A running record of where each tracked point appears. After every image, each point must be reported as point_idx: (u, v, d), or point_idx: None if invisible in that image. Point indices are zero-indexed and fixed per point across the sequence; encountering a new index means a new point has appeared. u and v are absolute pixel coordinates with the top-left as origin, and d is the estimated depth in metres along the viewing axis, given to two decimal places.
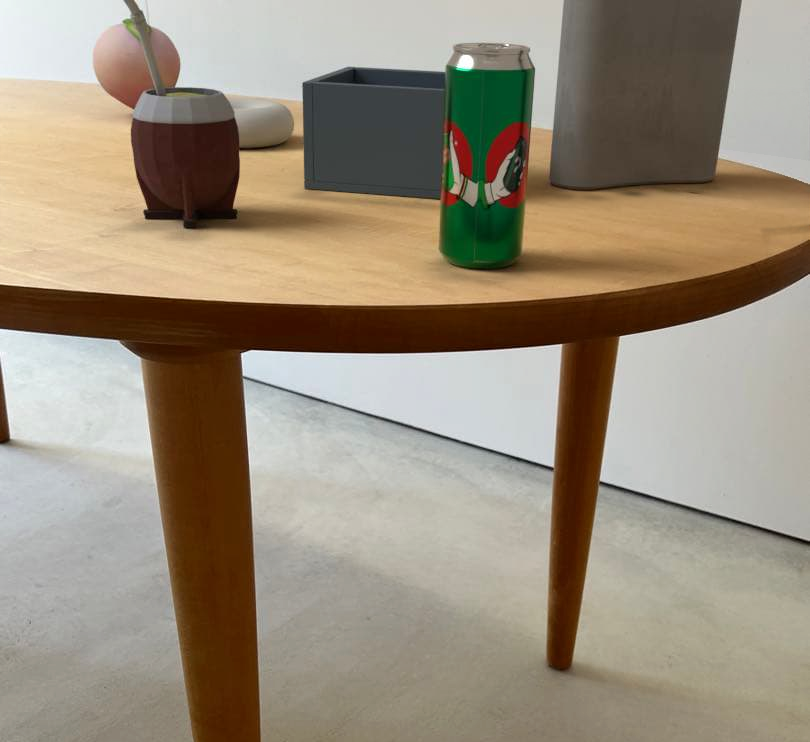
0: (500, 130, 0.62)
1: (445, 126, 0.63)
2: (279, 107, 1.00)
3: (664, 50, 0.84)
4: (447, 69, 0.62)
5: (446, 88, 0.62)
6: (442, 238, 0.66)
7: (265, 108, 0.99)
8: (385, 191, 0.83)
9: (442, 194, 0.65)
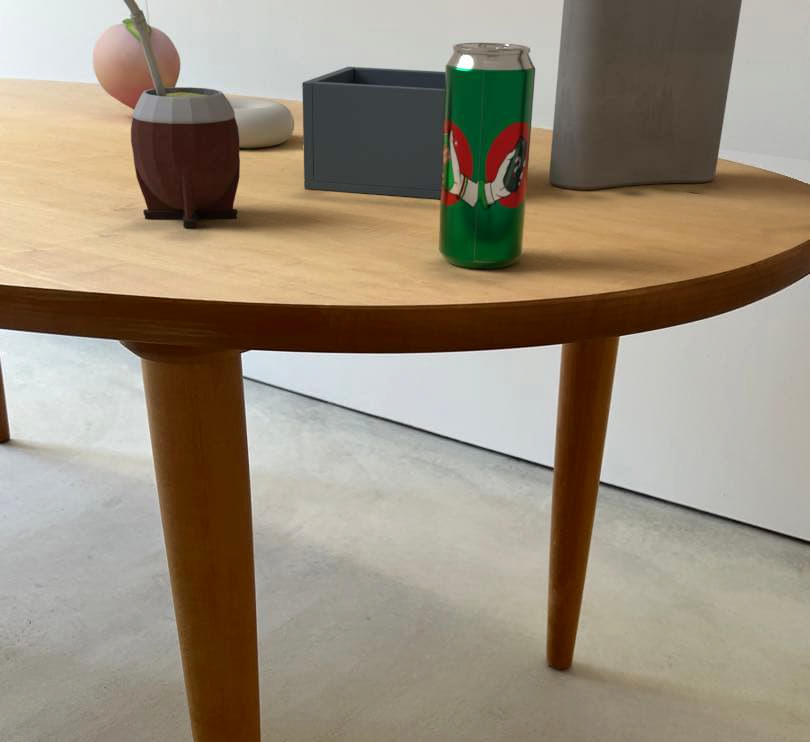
0: (500, 130, 0.62)
1: (445, 126, 0.63)
2: (279, 107, 1.00)
3: (664, 50, 0.84)
4: (447, 69, 0.62)
5: (446, 88, 0.62)
6: (442, 238, 0.66)
7: (265, 108, 0.99)
8: (385, 191, 0.83)
9: (442, 194, 0.65)
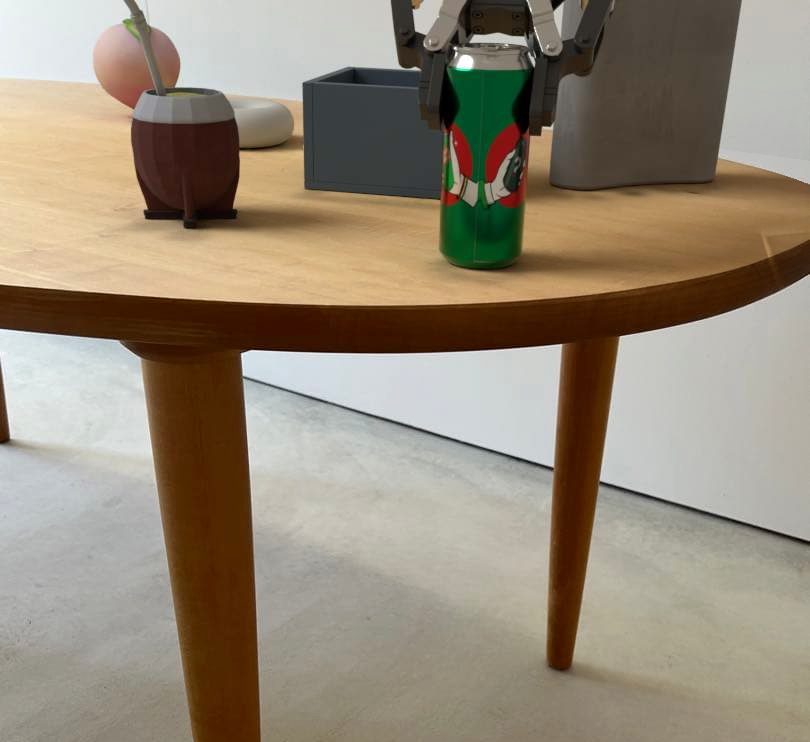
0: (500, 130, 0.62)
1: (445, 126, 0.63)
2: (279, 107, 1.00)
3: (664, 50, 0.84)
4: (447, 69, 0.62)
5: (445, 88, 0.62)
6: (442, 238, 0.66)
7: (265, 108, 0.99)
8: (385, 191, 0.83)
9: (442, 194, 0.65)
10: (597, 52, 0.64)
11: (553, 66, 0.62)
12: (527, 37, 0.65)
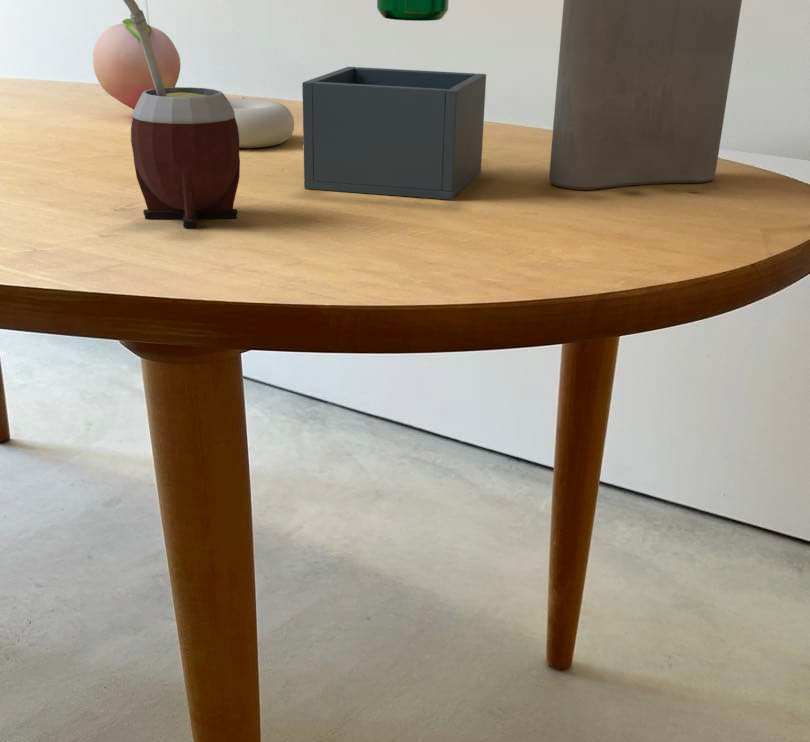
0: None
1: None
2: (279, 107, 1.00)
3: (664, 50, 0.84)
4: None
5: None
6: None
7: (265, 108, 0.99)
8: (385, 191, 0.83)
9: None
10: None
11: None
12: None
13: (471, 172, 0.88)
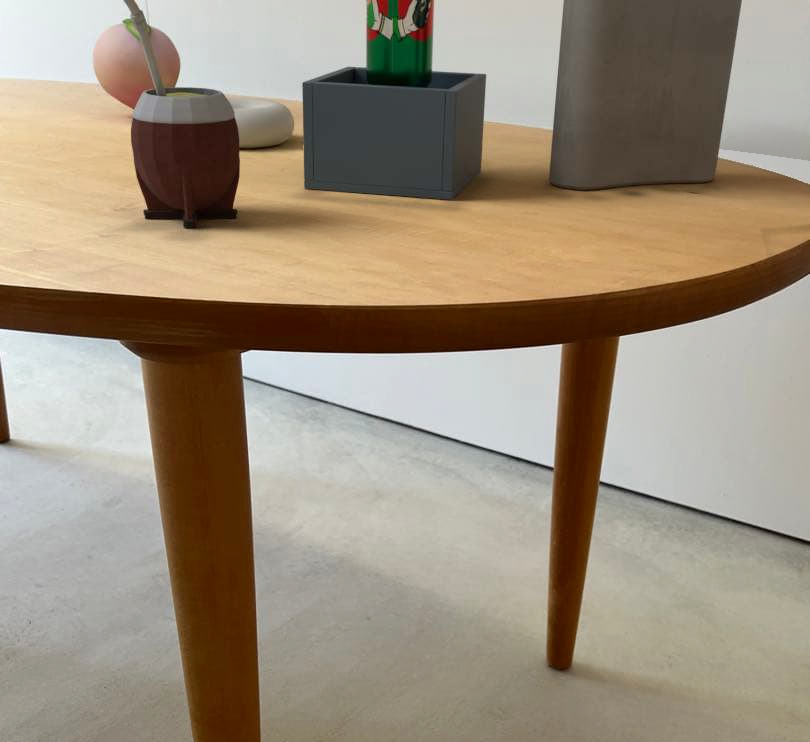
0: None
1: None
2: (279, 107, 1.00)
3: (664, 50, 0.84)
4: None
5: None
6: (367, 69, 0.84)
7: (265, 108, 0.99)
8: (385, 191, 0.83)
9: (367, 32, 0.83)
10: None
11: None
12: None
13: (471, 172, 0.88)
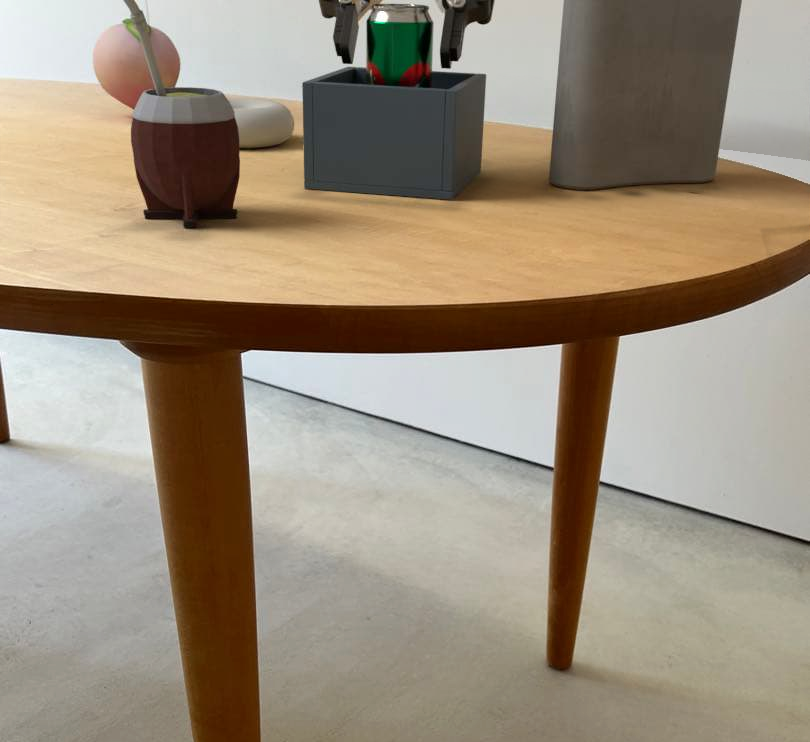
0: (406, 68, 0.83)
1: (367, 66, 0.84)
2: (279, 107, 1.00)
3: (664, 50, 0.84)
4: (367, 22, 0.83)
5: (366, 37, 0.83)
6: None
7: (265, 108, 0.99)
8: (385, 191, 0.83)
9: None
10: (492, 4, 0.84)
11: (459, 15, 0.83)
12: None
13: (471, 172, 0.88)
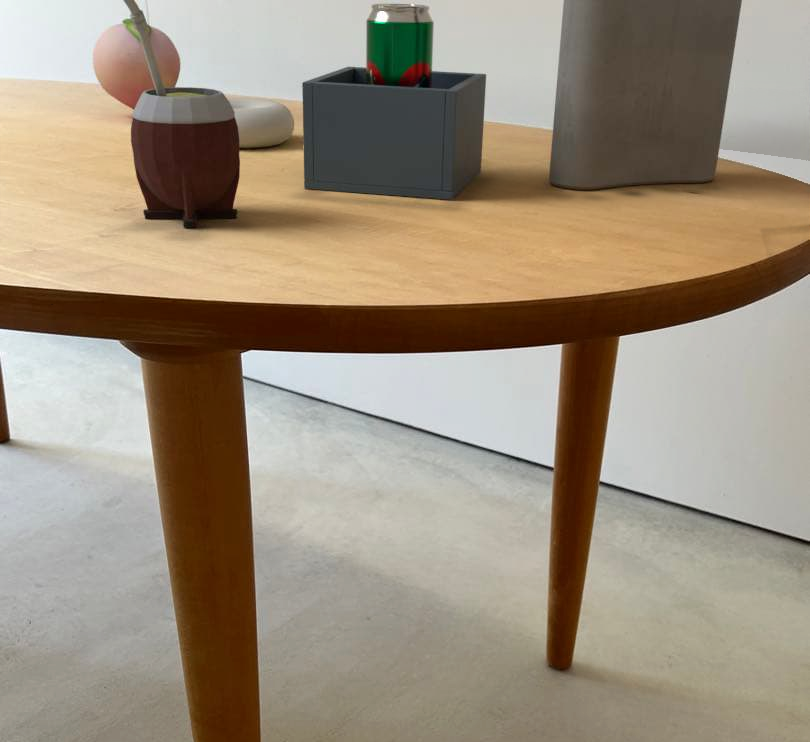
0: (406, 68, 0.83)
1: (367, 66, 0.84)
2: (279, 107, 1.00)
3: (664, 50, 0.84)
4: (367, 22, 0.83)
5: (366, 37, 0.83)
6: None
7: (265, 108, 0.99)
8: (385, 191, 0.83)
9: None
10: None
11: None
12: None
13: (471, 172, 0.88)
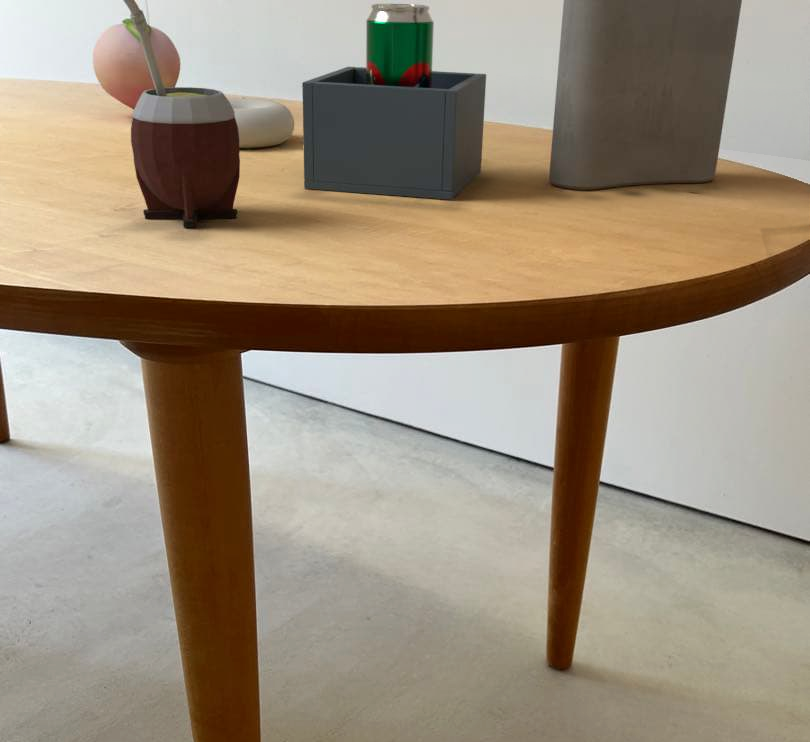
0: (406, 68, 0.83)
1: (367, 66, 0.84)
2: (279, 107, 1.00)
3: (664, 50, 0.84)
4: (367, 22, 0.83)
5: (366, 37, 0.83)
6: None
7: (265, 108, 0.99)
8: (385, 191, 0.83)
9: None
10: None
11: None
12: None
13: (471, 172, 0.88)
